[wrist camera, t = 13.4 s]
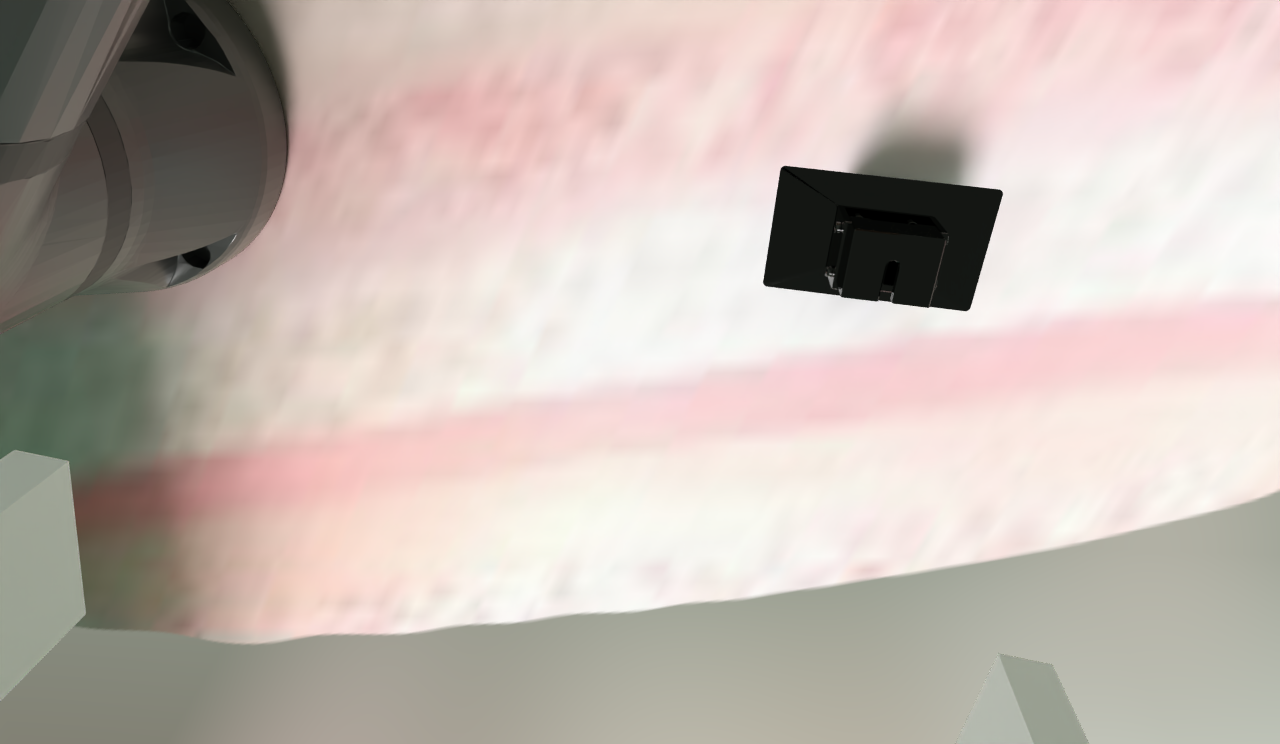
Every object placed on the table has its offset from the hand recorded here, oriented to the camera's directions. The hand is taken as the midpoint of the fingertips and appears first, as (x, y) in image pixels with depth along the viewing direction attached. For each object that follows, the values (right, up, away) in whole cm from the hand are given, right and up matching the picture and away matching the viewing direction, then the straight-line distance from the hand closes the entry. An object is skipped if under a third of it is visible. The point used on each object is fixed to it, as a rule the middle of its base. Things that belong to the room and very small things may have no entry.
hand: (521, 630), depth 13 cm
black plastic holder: (+12, +10, +27) cm, 31 cm away
